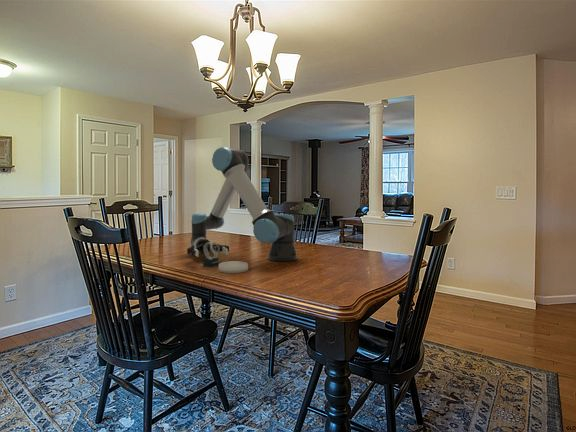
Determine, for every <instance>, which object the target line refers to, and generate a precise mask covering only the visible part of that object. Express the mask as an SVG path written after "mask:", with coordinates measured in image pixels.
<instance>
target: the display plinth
mask: <svg viewBox="0 0 576 432" xmlns="http://www.w3.org/2000/svg"><path fill="white" fill-rule="evenodd" d="M248 270H249V263H248V262H246V261H239V260H238V261H237V260H235V261H234V260H231V261H229V260H228V261H222V262H219V265H218V272H220V273H223V274H224V273H225V274H240V273H245V272H247V271H248Z"/></svg>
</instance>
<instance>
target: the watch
mask: <svg viewBox="0 0 576 432" xmlns="http://www.w3.org/2000/svg"><path fill="white" fill-rule="evenodd" d="M209 243H210V249H211V251H209V252H212V253H213V257H212V256H211V255H210V253H209V252H208V249H207V246H208V244H209ZM218 244H219V243H216V242H214V241H210V242H208V243H206V244H205V245H204V254H203V255H204V256H205V258H204V259H203V267H208V268H212V267H216V266H219V264H220V261H219V260H220V259H219V258H218V256H219V254H220V252H221V251H220V248H219V246H218Z"/></svg>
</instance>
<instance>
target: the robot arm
mask: <svg viewBox="0 0 576 432" xmlns="http://www.w3.org/2000/svg"><path fill="white" fill-rule="evenodd" d="M249 162H250V161H249V157H248V155H247V153H246V152H245V151H243V150H242V149H240V148H234V147H233V148H232V147H229V146H220V147H218V148H217V149H216V150H215V151H214V152H213V154H212V158H211V163H212V166H213V168H214V169H216V170H217V171H220V172H221V173H222V175H223V176H224V178H225V180H224V182H223V183H222V186H221V188H220V191H219V193H218V196H217V198H216V200H215V202H214V204H213V207H212V209H211V211H210V213H209V215H207V214H206V213H193V214H192V215H191V238H190V244H191V246H189V247H187V248H186V254H187V255H190V254H191V256H196V257H198V258H199V254H202V255H205V254H204V245H205V244H206V243H208V242H211V241H210V240H208V239H207V231H209V230H213V229H214V230H215V229H216V230H217V229H220V228H222V227H223V226H224V224H225V220H224V216H225V214H226V212H227V211H228V209H229V206H230V203H231V201H232V200H233V197H234V195H235V193H236V192H237V194H238V196H239V197H240V200H241V201H242V203H243V204H244V206H245V208H246V209H247V211H248V213H249V215H250V216H251V218H252V221H251V224H252V225H253V226H252V227H253V228H252V231H253V232H252V233H253V235H254V237H255V239H256V240H257V241H259V242H260V243H262V244H270V248H269V251H268V253H267V259H268V260H270V261H275V262H292V261H296V260H298V253H297V249H296V246H295V223H296V222H295V216H294V215H291V214H281V213H274V211H273V210H271V209H268V207H267V206H266V204H265V202H264V200H263V199H262V197H261V196H260V193H259V192H258V190H257V189H256V187H255V186H254V184H253V183H252V181H251V179H250V177H249V176H248V175H247V172H248V168H249V165H250V164H249ZM217 244H218V246H219V248H220V251H219V252H222V253H223V254H224V255H225V256H226V255H227V256H228V254H229V253H228V252H230V246H229V245H227V244H225V245H223V244H219V243H217ZM207 249H208V252H212V251H211V249H210V243H209V244H208V246H207Z"/></svg>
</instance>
